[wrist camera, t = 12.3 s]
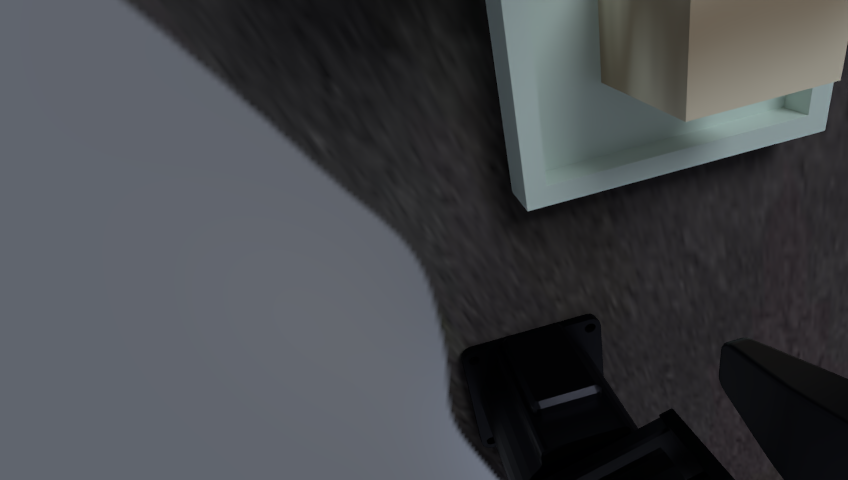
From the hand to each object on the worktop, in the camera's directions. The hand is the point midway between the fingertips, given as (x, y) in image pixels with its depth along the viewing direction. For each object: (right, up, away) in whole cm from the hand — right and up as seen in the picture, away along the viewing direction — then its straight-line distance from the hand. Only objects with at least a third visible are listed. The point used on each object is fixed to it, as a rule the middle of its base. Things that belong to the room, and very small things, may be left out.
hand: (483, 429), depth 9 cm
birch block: (+7, +11, +8) cm, 16 cm away
